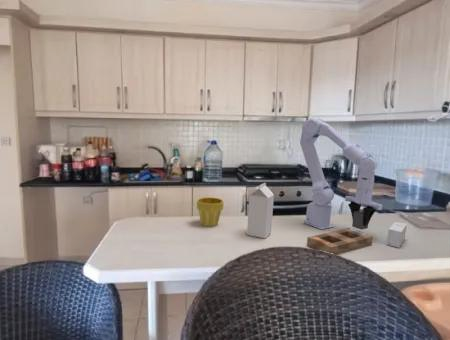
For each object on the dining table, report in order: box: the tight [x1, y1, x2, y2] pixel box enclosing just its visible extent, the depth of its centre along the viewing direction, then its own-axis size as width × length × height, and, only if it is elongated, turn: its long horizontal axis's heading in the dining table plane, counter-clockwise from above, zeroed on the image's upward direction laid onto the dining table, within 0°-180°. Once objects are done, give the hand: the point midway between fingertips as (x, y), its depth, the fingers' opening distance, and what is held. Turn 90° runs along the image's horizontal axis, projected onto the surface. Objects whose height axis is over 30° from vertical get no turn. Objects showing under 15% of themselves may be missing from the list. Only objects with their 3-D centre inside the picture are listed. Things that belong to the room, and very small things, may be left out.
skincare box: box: [386, 221, 407, 248], centre depth 117 cm, size 6×4×12 cm
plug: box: [351, 208, 369, 231], centre depth 123 cm, size 4×4×7 cm
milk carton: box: [246, 182, 275, 239], centre depth 117 cm, size 7×7×19 cm
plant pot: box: [196, 196, 224, 228], centre depth 126 cm, size 10×10×10 cm
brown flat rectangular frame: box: [306, 227, 374, 256], centre depth 111 cm, size 10×22×3 cm, turn 123°
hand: (360, 223), depth 123 cm, fingers closed on plug, 4 cm apart
